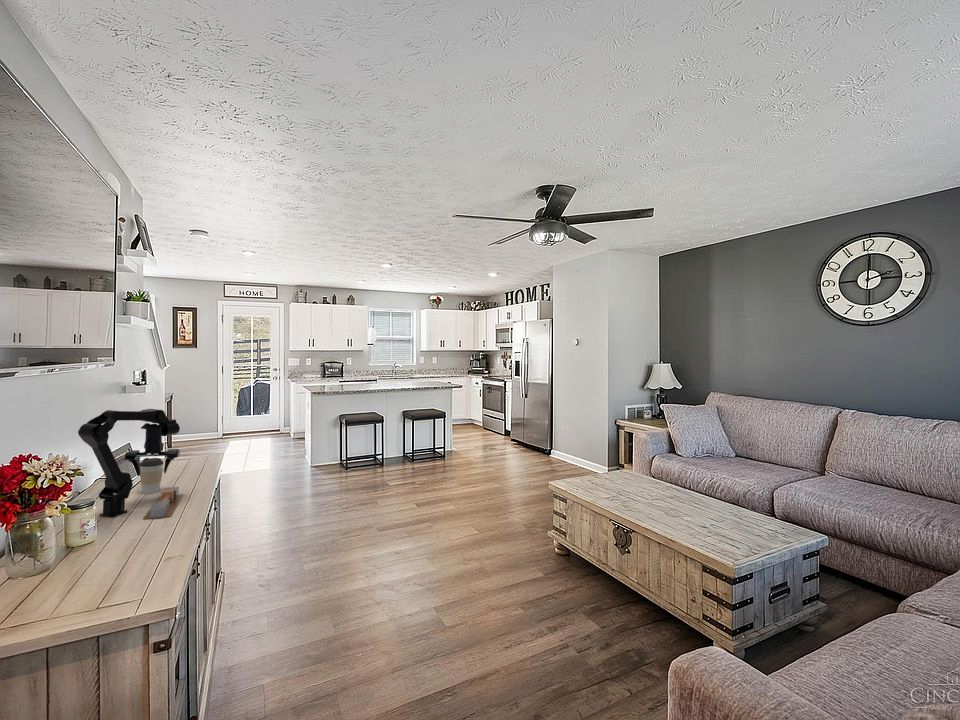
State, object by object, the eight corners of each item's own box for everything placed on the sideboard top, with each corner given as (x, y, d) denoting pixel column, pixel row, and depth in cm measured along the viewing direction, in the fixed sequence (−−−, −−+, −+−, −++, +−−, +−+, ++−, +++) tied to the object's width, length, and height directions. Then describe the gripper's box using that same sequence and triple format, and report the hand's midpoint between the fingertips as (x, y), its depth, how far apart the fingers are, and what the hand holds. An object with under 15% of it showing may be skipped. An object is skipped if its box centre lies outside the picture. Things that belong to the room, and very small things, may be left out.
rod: (167, 509, 187) (168, 498, 186) (155, 509, 185) (156, 499, 185) (175, 496, 201) (175, 487, 201) (164, 497, 199) (165, 487, 199)
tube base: (170, 517, 180) (171, 506, 180) (143, 519, 177) (143, 508, 177) (183, 495, 206) (184, 486, 206) (160, 496, 202) (160, 487, 202)
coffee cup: (167, 488, 213) (168, 457, 213) (151, 494, 204) (152, 461, 204) (149, 487, 214) (150, 455, 214) (133, 493, 205) (134, 460, 205)
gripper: (182, 434, 207) (181, 467, 207) (132, 435, 199) (131, 470, 200) (177, 438, 197) (176, 474, 197) (124, 440, 189) (123, 477, 189)
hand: (152, 473), depth 196 cm, fingers open, 9 cm apart
